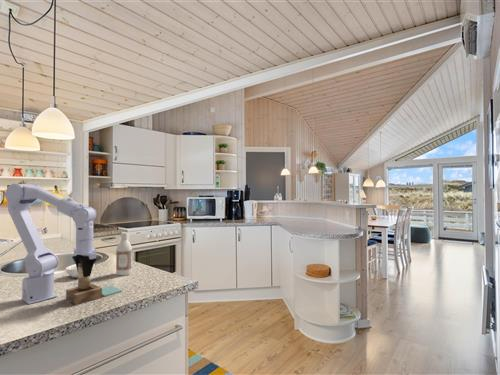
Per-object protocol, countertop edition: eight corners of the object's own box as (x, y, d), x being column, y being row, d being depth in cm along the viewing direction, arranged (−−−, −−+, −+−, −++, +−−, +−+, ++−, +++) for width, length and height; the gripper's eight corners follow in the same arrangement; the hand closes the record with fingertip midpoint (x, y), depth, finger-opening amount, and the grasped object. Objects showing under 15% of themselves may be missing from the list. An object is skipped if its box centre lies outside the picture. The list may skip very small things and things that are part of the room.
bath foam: (114, 276, 135) (115, 233, 135) (117, 272, 142) (118, 231, 142) (130, 275, 137) (130, 233, 137) (132, 271, 144) (133, 231, 144)
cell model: (62, 277, 134) (62, 262, 134) (89, 271, 143) (89, 258, 143) (69, 281, 127) (69, 266, 127) (98, 275, 136) (98, 261, 136)
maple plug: (80, 289, 105) (81, 265, 106) (76, 287, 108) (76, 263, 108) (92, 286, 109) (92, 262, 109) (87, 284, 111) (87, 261, 111)
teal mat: (104, 296, 110) (104, 295, 110) (93, 291, 115) (93, 290, 115) (122, 291, 115) (122, 290, 115) (111, 286, 121) (111, 285, 121)
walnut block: (76, 305, 102) (76, 295, 102) (66, 298, 108) (66, 289, 108) (101, 297, 109) (102, 288, 109) (91, 292, 115) (91, 283, 115)
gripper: (104, 239, 107) (104, 276, 107) (87, 235, 116) (87, 269, 116) (84, 242, 101) (84, 281, 101) (68, 238, 110) (67, 273, 110)
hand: (84, 275), depth 108 cm, fingers closed on maple plug, 4 cm apart
